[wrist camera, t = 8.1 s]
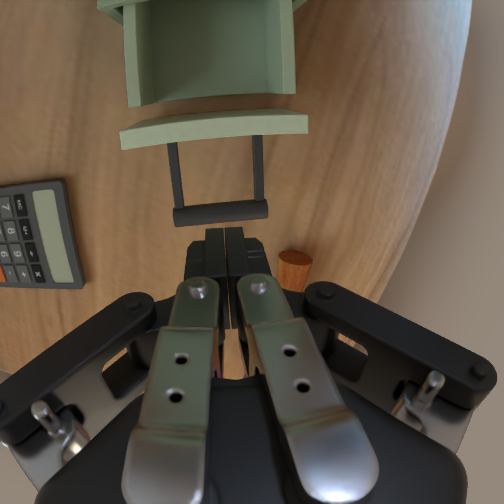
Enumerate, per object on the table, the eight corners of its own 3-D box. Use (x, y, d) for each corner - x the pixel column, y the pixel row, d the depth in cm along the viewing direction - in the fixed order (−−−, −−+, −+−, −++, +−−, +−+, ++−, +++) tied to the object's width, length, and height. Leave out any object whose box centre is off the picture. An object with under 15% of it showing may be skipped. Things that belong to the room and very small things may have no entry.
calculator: (-43, 196, 21) (60, 181, 23) (-39, 193, 22) (64, 178, 24) (-15, 287, 26) (83, 290, 29) (-12, 282, 27) (86, 285, 29)
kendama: (337, 270, 28) (294, 406, 36) (307, 244, 33) (276, 375, 41) (279, 274, 26) (250, 416, 34) (255, 245, 31) (235, 382, 39)
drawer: (283, 192, 27) (306, 224, 21) (153, 204, 26) (138, 241, 20) (277, -21, 17) (300, -51, 11) (134, -10, 16) (112, -39, 10)
